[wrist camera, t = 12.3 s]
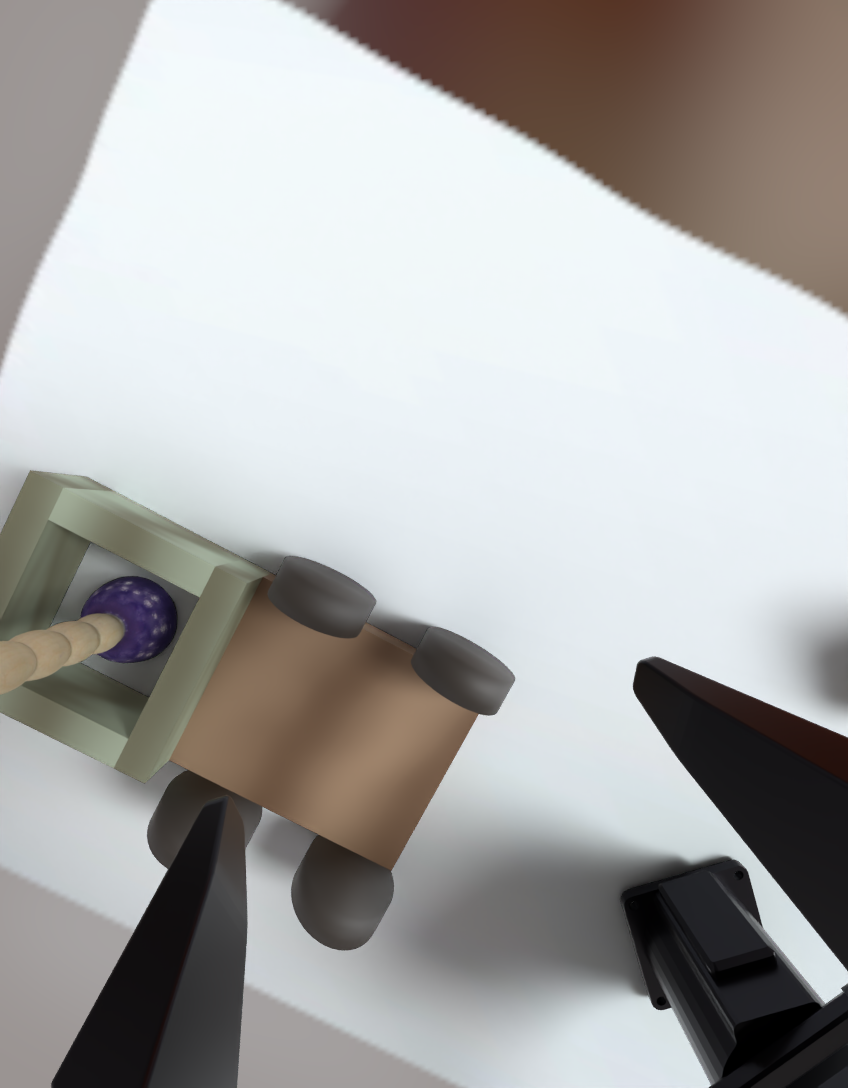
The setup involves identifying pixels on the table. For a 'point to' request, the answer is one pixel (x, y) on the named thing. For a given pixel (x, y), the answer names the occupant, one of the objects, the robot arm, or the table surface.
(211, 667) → the chassis
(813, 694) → the table surface
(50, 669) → the toy lamp
